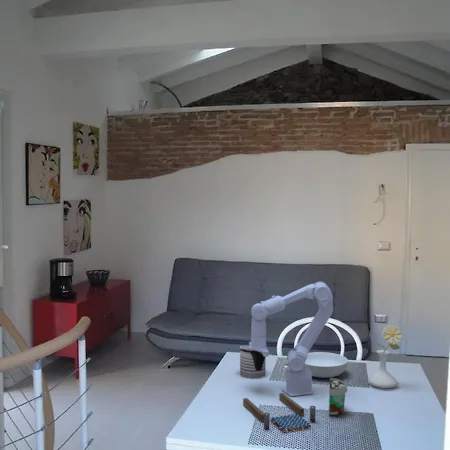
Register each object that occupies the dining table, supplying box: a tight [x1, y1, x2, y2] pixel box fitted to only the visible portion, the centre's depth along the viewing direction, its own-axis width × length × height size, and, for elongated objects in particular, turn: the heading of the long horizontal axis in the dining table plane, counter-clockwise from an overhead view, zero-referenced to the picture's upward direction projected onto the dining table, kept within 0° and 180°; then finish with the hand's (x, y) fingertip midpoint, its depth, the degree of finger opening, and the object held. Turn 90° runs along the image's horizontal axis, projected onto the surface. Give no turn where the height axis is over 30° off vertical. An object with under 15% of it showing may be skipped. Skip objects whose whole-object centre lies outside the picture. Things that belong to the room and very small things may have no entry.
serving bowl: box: [304, 351, 349, 379], centre depth 225 cm, size 21×21×7 cm
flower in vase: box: [367, 324, 404, 389], centre depth 211 cm, size 13×11×25 cm
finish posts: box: [263, 405, 316, 431], centre depth 174 cm, size 19×2×5 cm, turn 111°
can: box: [239, 344, 267, 380], centre depth 225 cm, size 11×11×12 cm
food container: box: [328, 377, 348, 418], centre depth 185 cm, size 12×6×10 cm, turn 168°
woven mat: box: [270, 413, 312, 433], centre depth 174 cm, size 10×11×2 cm
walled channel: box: [242, 392, 305, 424], centre depth 186 cm, size 16×16×2 cm
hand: (258, 369), depth 205 cm, fingers closed
